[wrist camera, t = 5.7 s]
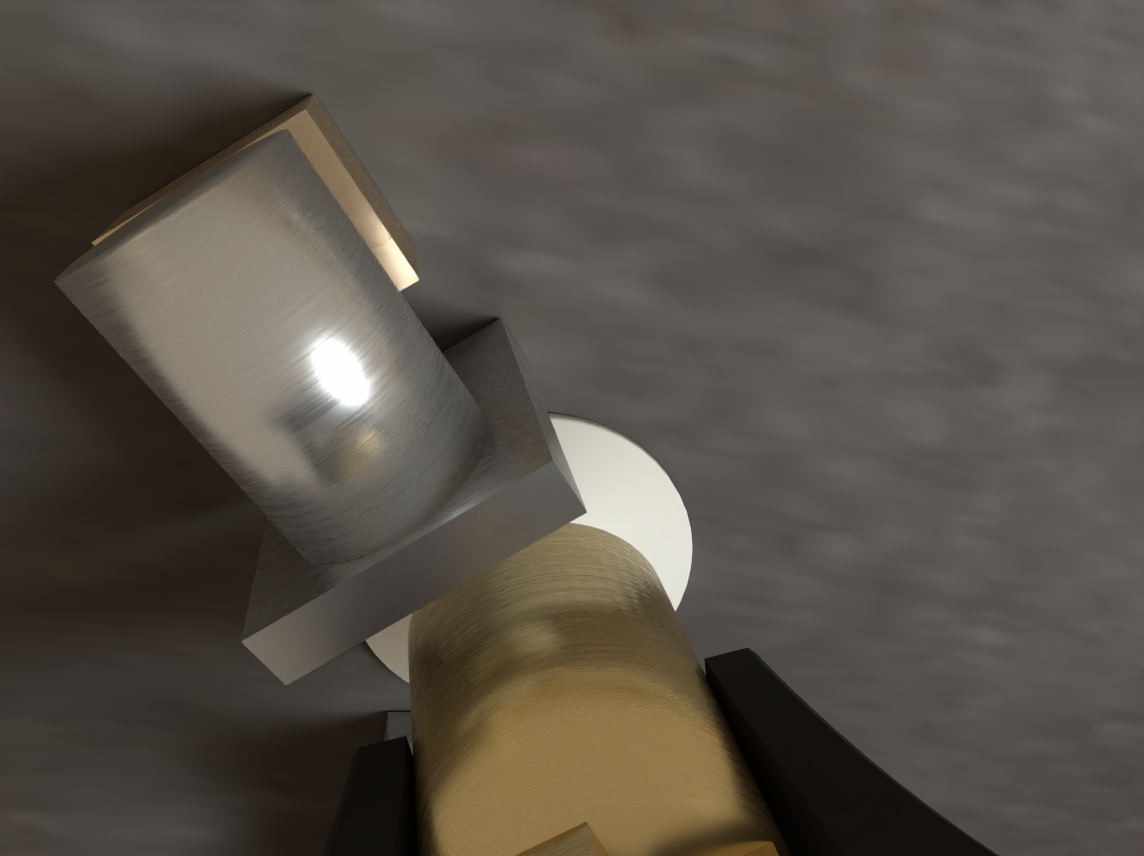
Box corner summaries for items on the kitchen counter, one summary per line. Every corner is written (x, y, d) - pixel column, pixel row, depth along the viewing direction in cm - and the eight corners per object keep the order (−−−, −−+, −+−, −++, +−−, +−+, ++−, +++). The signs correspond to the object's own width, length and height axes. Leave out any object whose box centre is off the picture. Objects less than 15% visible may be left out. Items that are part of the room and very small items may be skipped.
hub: (701, 662, 14) (877, 1031, 9) (482, 768, 15) (538, 1190, 10) (608, 476, 13) (766, 814, 7) (356, 600, 13) (342, 1016, 8)
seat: (645, 699, 18) (648, 709, 17) (334, 694, 16) (333, 705, 16) (724, 430, 15) (730, 438, 15) (368, 394, 14) (367, 402, 13)
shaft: (526, 359, 14) (587, 512, 10) (311, 485, 14) (285, 686, 10) (345, 73, 12) (330, 123, 8) (93, 230, 12) (-50, 359, 8)
